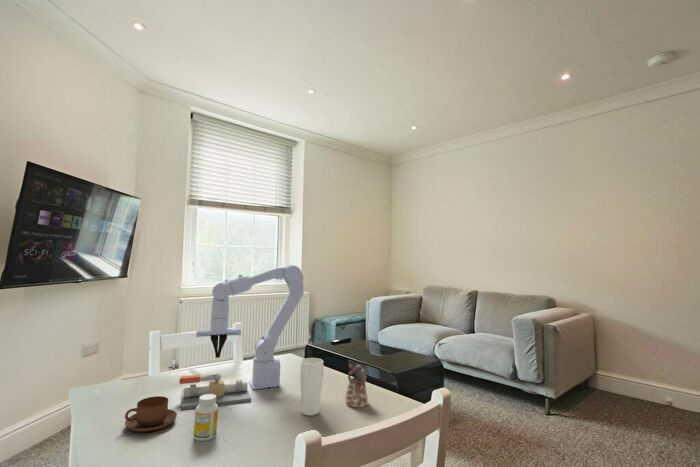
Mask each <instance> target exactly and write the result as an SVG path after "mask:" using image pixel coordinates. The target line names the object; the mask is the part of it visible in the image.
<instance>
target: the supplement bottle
mask: <svg viewBox="0 0 700 467" xmlns="http://www.w3.org/2000/svg"><path fill="white" fill-rule="evenodd" d="M215 402H216V395H214V394H205V395H202V396H200V397H199V405H198V406H197V407H196V408H195V414H194V425H193V426H194V427H193V438H194V440H195V441H198V442H206V441H207V442H208V441H210V440H212V439H213V438H215V437H216V435H217V428H218V416H219V405H217V404H216V403H215Z"/></svg>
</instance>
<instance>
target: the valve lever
mask: <svg viewBox="0 0 700 467" xmlns="http://www.w3.org/2000/svg"><path fill="white" fill-rule="evenodd" d="M221 378H222V374H220V373H218V374H217V373H216V374H205V375H203V374H202V375H201V374H193V375H192V374H191V375H180V377H179V381H178V382H179V385H183V384H185V385H186V384H196V383H197V384H198V383H200V382H206V381H207V382H208V381H215V380H222V379H221Z"/></svg>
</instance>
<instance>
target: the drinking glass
mask: <svg viewBox="0 0 700 467" xmlns="http://www.w3.org/2000/svg"><path fill="white" fill-rule="evenodd" d="M299 373H300V402H301V404H300V405H301V408H300V410H301V414H302V415H304V416H309V417H310V416H311V417H312V416H316V415H318V414H319V412H320V402H321V395H322V387H323V386H322V385H323V380H324V379H323V378H324V360H323V359H321V358H317V357H307V358H303V359H301V361H300V372H299Z"/></svg>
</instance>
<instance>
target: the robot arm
mask: <svg viewBox="0 0 700 467" xmlns="http://www.w3.org/2000/svg"><path fill="white" fill-rule="evenodd" d="M272 280H281V281H283V280H284V282H285V283H286V285H287V289H288V292H289V293H288V294H287V296H286V297H285V299H284V301H283V303H282V305H281V306H280V308H279V310H278V312H277V313H276V315H275V317H274V318H273V320H272V321H271V324H270V325H269V327H268V329H267V330H266V331H265V332H264V333H263V336H262V337H260V338H259V339H258V340H257V341H256V342H255V344H254V349H255V356H254V357H253V360H252V378H251V380H250V381H249V385H250V386H251V389H252V390H258V389H260V390H261V389H268V387H270V388H277V386H279V387H280V386H281V383H280V382H281V361H280V358H276V357H274V354H275V348H276V346H277V343H278V340H279V338H280V336H281V334H282V332H283V330H284V329H285V327H286V325H287V324H288V322H289V320H291V317H292V315H293V313H294V312H295V311H296V310H295V309H296V308H297V306H298V304H299V303H300V301H301V299H302V297H303V296H304V290H305V289H304V275H303V272H302V270H301V269H300V267H299V266H297V265H292V264H289V265H286V266H279V267H274V268H271V269H269V270H266V271H264V272H263V271H262V272H260V273H258V274H255V275H252V276H249V275H247V274H243V275H242V274H238V275H237V277H234V278H232V279H225V280H224V282H219V283H217V284H216V285H214V286H213V288H212V291H211V293H212V296H213V298H212V304H211V316H210V329H200V330H196V335H195V336H196V338H200V337H210V340H211V343H212V345H213V349H214V354H215V357H214V358H216V359H219V358H221V352H222V351H223V350H222V349H223V348H224V345H225V343H226V341H227V339H228V336H241V335H242V329H241V328H229V319H230V318H229V317H230V315H229V313H230V303H229V302H230V296H232V297H233V296H235V295H236V296H237V295H239V294H240V295H241V294H242V293H245V292H248V291H251V289H252V288H253V286H255V285H257V284H261V283H263V282H268V281H272Z"/></svg>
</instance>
